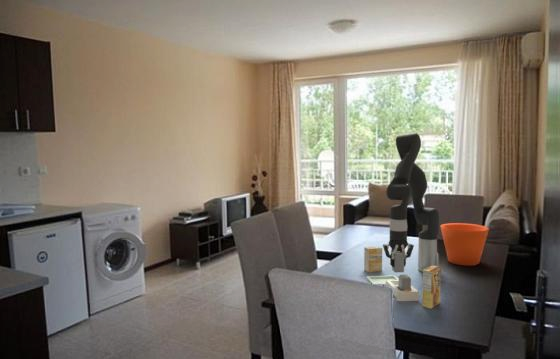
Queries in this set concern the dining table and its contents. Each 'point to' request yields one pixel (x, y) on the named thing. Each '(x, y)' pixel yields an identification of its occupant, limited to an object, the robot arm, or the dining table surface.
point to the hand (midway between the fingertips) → (397, 266)
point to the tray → (380, 279)
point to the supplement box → (372, 259)
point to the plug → (398, 262)
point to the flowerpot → (464, 242)
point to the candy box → (431, 286)
